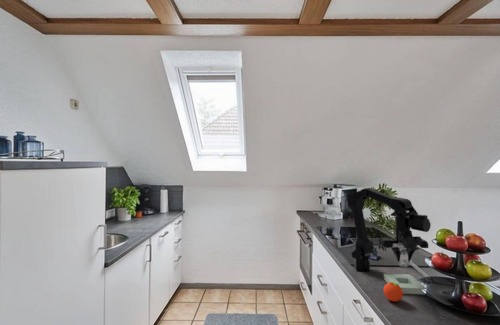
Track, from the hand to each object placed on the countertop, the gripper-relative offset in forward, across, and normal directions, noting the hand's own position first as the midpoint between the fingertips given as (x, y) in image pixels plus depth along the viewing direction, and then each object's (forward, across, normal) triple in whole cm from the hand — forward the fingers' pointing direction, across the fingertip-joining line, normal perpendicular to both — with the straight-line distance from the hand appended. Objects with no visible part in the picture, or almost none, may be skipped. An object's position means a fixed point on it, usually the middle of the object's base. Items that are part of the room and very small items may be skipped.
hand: (403, 261), depth 118 cm
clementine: (+11, -9, -13) cm, 20 cm away
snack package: (+12, -1, +38) cm, 40 cm away
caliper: (+11, +14, +18) cm, 25 cm away
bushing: (+2, 0, 0) cm, 2 cm away
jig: (+11, 0, 0) cm, 11 cm away
